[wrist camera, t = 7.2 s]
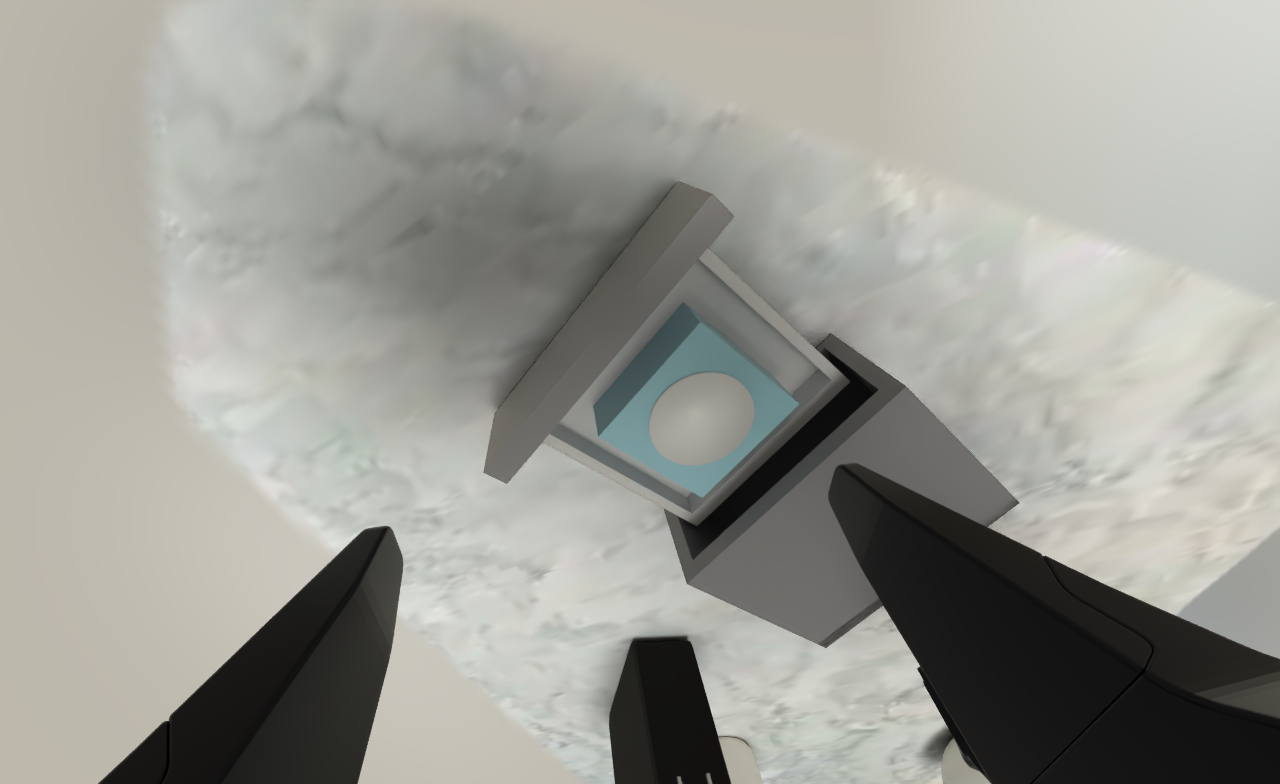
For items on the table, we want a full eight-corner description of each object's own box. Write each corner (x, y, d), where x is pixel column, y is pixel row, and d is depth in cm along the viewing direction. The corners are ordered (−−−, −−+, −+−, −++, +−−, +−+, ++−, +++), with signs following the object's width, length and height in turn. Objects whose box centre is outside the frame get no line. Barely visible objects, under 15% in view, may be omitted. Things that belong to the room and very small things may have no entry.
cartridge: (775, 377, 21) (801, 405, 19) (688, 465, 23) (703, 500, 21) (683, 301, 19) (701, 323, 17) (593, 406, 20) (598, 439, 18)
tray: (843, 344, 22) (901, 386, 19) (672, 511, 26) (693, 573, 22) (678, 181, 17) (712, 193, 14) (494, 413, 21) (483, 472, 17)
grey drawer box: (938, 438, 27) (1019, 502, 22) (783, 569, 30) (826, 647, 26) (831, 333, 22) (906, 386, 17) (661, 501, 25) (687, 583, 21)
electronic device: (607, 718, 35) (626, 905, 27) (632, 636, 31) (664, 829, 22) (659, 714, 37) (693, 893, 28) (690, 634, 32) (743, 818, 23)
